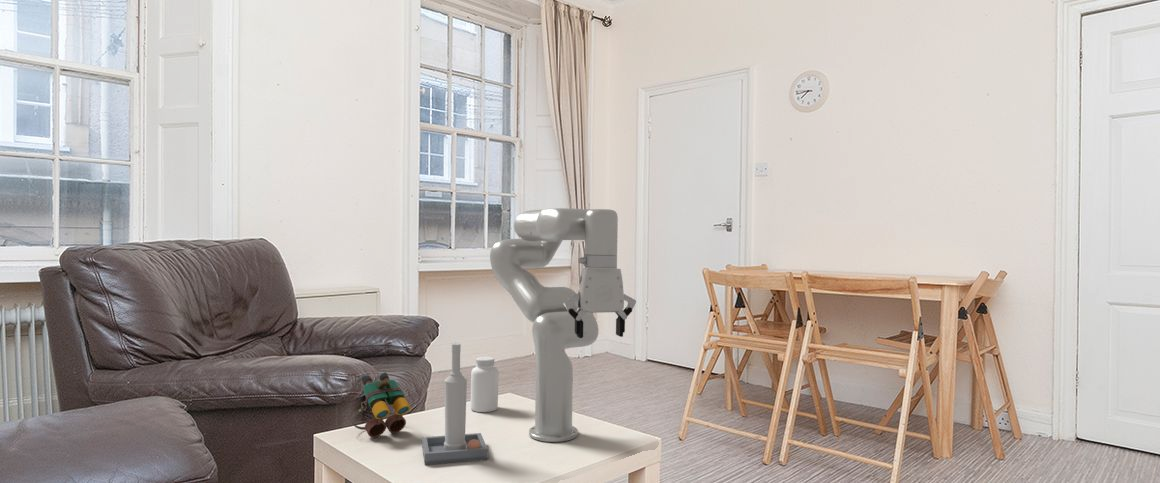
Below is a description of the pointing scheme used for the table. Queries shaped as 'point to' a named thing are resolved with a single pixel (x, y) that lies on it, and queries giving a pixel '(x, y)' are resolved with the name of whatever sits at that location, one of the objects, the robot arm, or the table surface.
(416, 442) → the table surface
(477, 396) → the pill bottle
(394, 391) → the binoculars
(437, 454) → the tray
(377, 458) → the table surface
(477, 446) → the ball
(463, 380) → the bottle
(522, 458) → the table surface
